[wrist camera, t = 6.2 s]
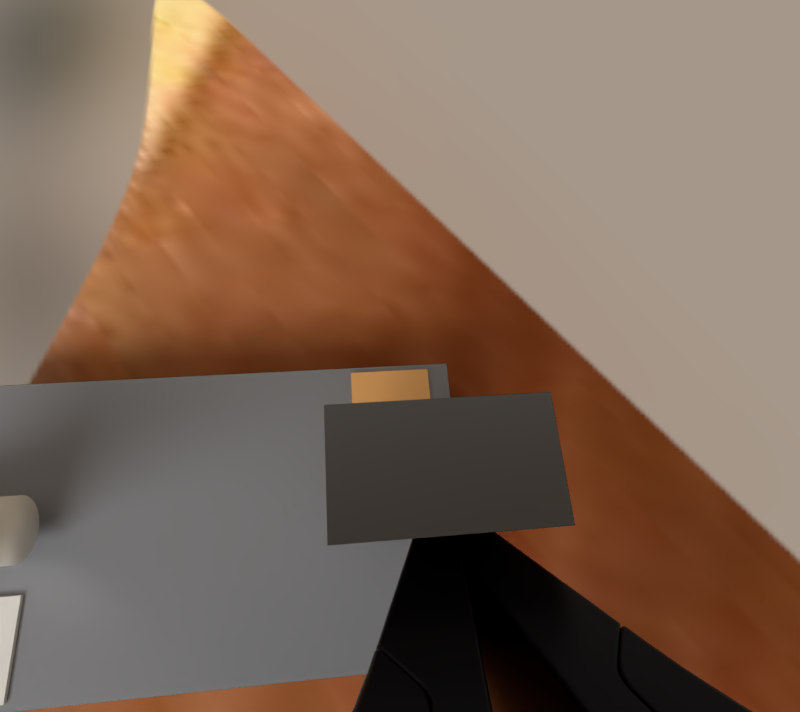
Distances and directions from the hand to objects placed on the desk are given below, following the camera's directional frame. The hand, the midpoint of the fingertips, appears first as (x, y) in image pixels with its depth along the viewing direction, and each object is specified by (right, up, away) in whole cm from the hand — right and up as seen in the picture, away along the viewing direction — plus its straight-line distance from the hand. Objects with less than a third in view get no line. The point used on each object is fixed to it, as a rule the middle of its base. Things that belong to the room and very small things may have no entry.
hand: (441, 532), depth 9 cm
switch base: (-7, -2, +8) cm, 11 cm away
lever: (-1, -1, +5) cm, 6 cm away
